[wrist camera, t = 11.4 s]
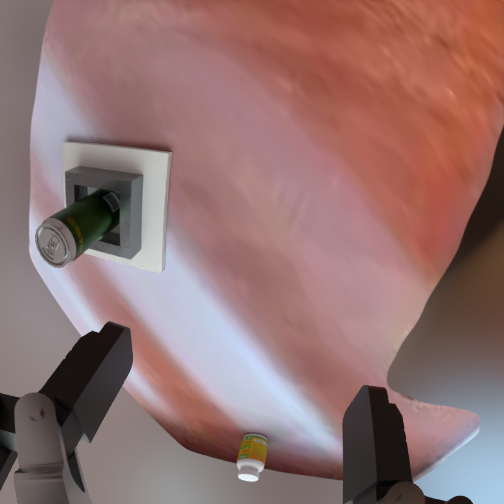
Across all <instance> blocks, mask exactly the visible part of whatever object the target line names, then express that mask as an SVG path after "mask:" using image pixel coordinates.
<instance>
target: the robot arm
mask: <svg viewBox="0 0 504 504" xmlns="http://www.w3.org/2000/svg"><path fill="white" fill-rule="evenodd" d="M132 363H133V352H132V341H131V331H130V328H128V327H125V326H122V325H119V324H116V323H113V322H111V321H109V322H107V323H106V324H105V325H104V327H103V328H102V329H101V331H100V332H99V333H97V332H95V331H91V332H89V333H88V334H86V335H84V336H83V337H81V338H80V339H79V340H78V342H77V343H76V344H75V345H74V347H73V348H72V350H70V352H69V353H68V354H67V355H66V358H65V359H63V361H62V362H61V364H60V365H59V366H58V367H57V369H56V370H55V371H54V373H53V374H52V376H51V377H50V378H49V379H48V381H47V382H46V384H45V385H44V386H43V388H42V389H41V390H40V391H39V392H37V393H29V394H26V395H24V396H22V397H21V398H20V397H14V396H10V395H5V394H2V393H0V490H1V488H2V486H3V484H4V482H5V480H6V478H7V476H8V474H9V472H10V470H11V468H12V466H13V464H14V462H15V460H16V458H17V456H18V461H19V470H18V471H15V473H14V485H15V491H16V496H17V501H18V504H93V503H92V501H91V499H90V497H89V494H88V491H87V487H86V484H85V480H84V477H83V473H82V469H81V465H80V461H79V457H78V453H77V448H76V446H77V444H78V442H79V441H80V439H82V440H84V441H86V442H88V443H91V441H92V439H93V437H94V436H95V434H96V432H97V430H98V428H99V426H100V424H101V423H102V421H103V419H104V417H105V415H106V413H107V412H108V410H109V408H110V406H111V404H112V403H113V401H114V399H115V397H116V396H117V394H118V392H119V390H120V388H121V387H122V385H123V383H124V381H125V380H126V378H127V376H128V374H129V372H130V370H131V367H132ZM343 504H473V503H472V502H471V500H470V499H468V498H467V497H465V496H456V497H453V498H452V499H450V500H449V501H443V500H438V499H434V498H430V497H427V496H425V495H424V494H423V492H422V490H421V489H420V488H419V487H418V486H417V485H416V484H414V483H413V481H412V477H411V469H410V461H409V454H408V447H407V442H406V435H405V431H404V423H403V417H402V415H401V413H400V411H399V410H398V408H397V406H396V405H395V404H392V403H389V400H388V394H387V390H386V389H385V388H384V387H376V386H368V385H364V386H362V388H361V389H360V391H359V392H358V394H357V395H356V397H355V398H354V400H353V401H352V402H351V404H350V405H349V407H348V408H347V410H346V412H345V414H344V418H343Z"/></svg>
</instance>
